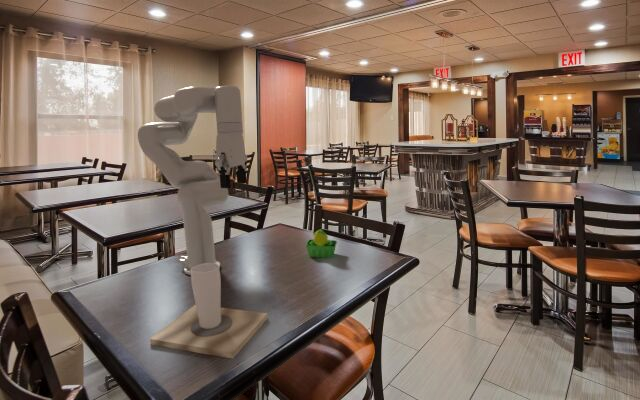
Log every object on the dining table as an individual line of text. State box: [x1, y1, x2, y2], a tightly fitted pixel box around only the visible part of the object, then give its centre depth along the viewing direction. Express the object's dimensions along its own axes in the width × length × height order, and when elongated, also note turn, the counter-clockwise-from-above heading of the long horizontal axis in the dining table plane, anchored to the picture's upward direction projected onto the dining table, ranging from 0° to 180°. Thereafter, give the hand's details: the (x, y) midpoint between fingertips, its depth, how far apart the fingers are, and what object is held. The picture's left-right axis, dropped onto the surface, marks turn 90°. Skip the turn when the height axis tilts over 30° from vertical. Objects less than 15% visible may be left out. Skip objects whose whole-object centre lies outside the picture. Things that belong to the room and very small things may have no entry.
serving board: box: [149, 303, 268, 359], centre depth 95 cm, size 22×18×2 cm
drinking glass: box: [190, 263, 222, 329], centre depth 93 cm, size 7×7×15 cm
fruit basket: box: [305, 229, 338, 259], centre depth 146 cm, size 11×9×11 cm
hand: (234, 185), depth 117 cm, fingers open, 9 cm apart
